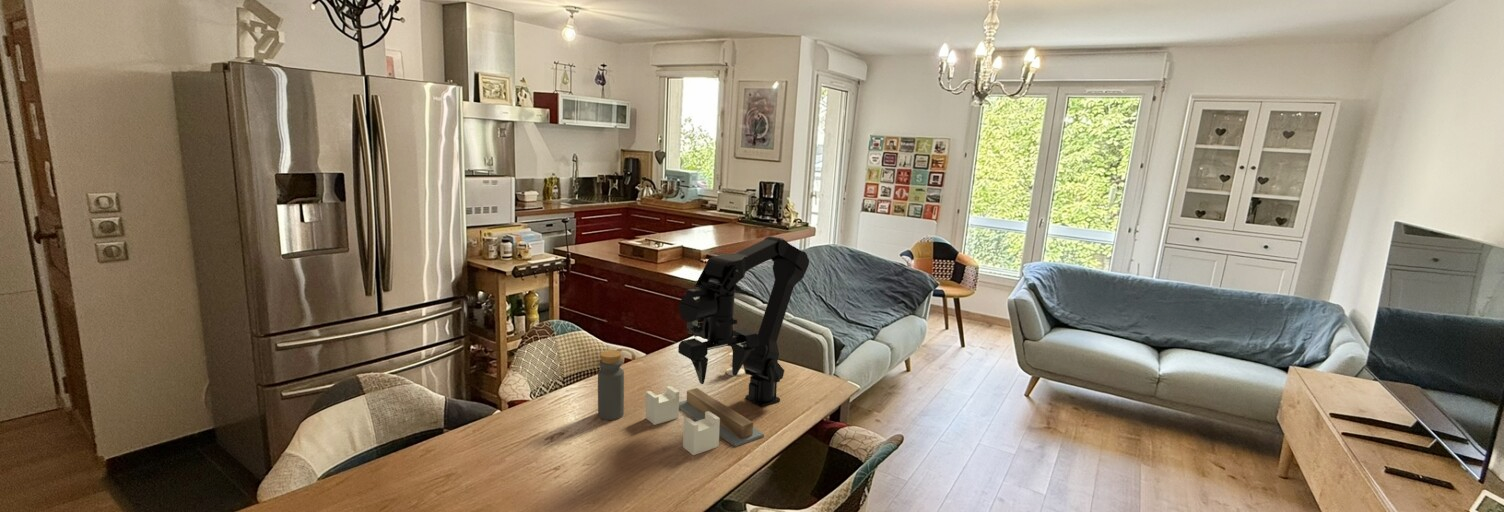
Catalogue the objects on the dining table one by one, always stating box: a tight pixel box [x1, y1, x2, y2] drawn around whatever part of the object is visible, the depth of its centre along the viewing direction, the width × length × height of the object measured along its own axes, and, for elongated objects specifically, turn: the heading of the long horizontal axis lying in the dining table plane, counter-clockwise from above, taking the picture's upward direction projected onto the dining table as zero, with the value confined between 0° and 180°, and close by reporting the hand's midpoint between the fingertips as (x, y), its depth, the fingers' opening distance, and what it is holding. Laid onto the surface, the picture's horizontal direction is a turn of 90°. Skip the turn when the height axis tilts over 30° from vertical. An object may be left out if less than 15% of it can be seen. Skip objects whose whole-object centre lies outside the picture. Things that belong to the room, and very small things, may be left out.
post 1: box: [645, 385, 680, 426], centre depth 139 cm, size 6×4×6 cm, turn 129°
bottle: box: [597, 349, 625, 421], centre depth 139 cm, size 6×6×15 cm
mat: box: [679, 399, 765, 448], centre depth 140 cm, size 8×24×1 cm, turn 39°
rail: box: [686, 387, 754, 439], centre depth 140 cm, size 3×22×3 cm, turn 39°
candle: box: [725, 351, 746, 377], centre depth 168 cm, size 5×5×10 cm
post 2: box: [682, 411, 720, 456], centre depth 127 cm, size 6×4×6 cm, turn 129°
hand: (718, 379), depth 138 cm, fingers open, 9 cm apart
